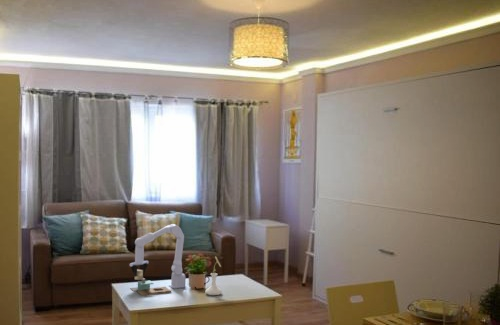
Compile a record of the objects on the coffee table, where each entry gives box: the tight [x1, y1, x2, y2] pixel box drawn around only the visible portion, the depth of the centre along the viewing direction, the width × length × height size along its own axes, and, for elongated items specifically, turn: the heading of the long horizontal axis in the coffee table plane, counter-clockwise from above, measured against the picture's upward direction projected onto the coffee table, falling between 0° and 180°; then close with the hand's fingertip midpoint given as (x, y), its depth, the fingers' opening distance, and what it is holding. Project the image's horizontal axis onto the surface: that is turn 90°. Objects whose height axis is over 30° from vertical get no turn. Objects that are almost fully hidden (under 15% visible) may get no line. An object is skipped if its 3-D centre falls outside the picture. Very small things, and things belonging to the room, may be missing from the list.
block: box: [134, 269, 144, 281], centre depth 352 cm, size 4×4×6 cm
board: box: [136, 286, 172, 297], centre depth 345 cm, size 20×12×2 cm, turn 119°
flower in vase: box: [204, 256, 223, 296], centre depth 344 cm, size 13×11×25 cm
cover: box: [137, 277, 154, 290], centre depth 342 cm, size 8×8×8 cm
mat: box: [129, 286, 138, 292], centre depth 352 cm, size 10×8×1 cm
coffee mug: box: [204, 273, 210, 285], centre depth 359 cm, size 12×9×10 cm
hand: (138, 275), depth 352 cm, fingers closed on block, 6 cm apart
